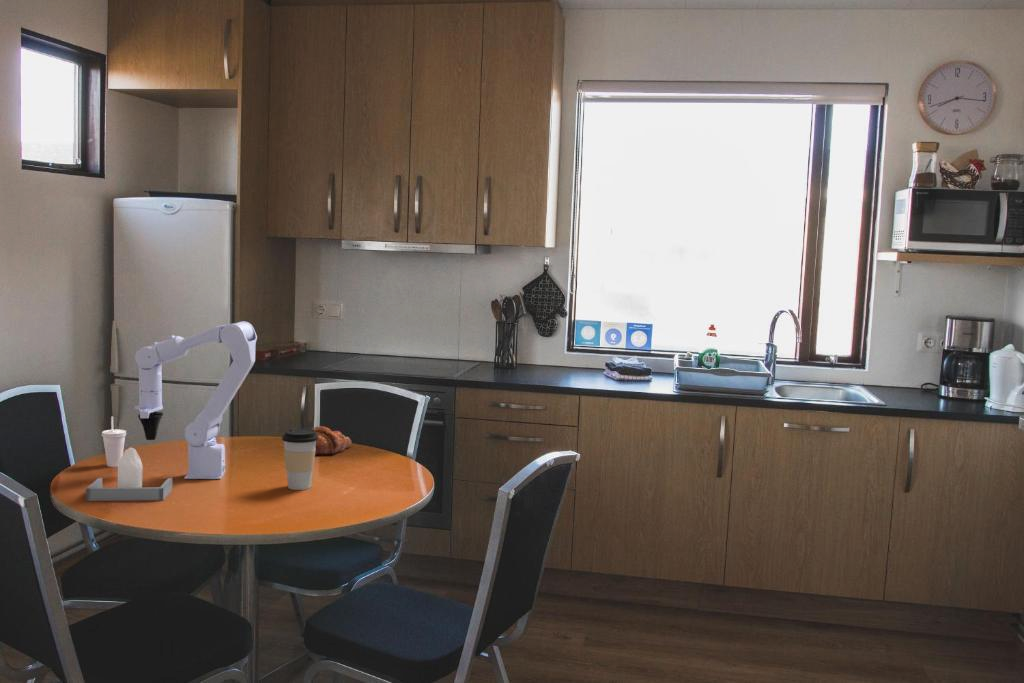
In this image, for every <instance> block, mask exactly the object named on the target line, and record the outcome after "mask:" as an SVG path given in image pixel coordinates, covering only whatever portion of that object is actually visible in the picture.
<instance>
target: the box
mask: <svg viewBox="0 0 1024 683" xmlns="http://www.w3.org/2000/svg"><path fill="white" fill-rule="evenodd" d="M172 491H173V478H172V477H168V478H167V479H166V480H164V482H163V483H162V484H161V486H159V487H157V486H156V487H153V486H152V487H151V486H149V487H143V486H142V487H130V488H118V487H103V477H100V478H99V477H98V478H97V479H95V480H94V481H93V482H92V483H91V484H89V486H87V487H86V488H85V501H86V502H88V501H89V502H95V501H96V502H97V501H98V502H101V501H102V502H104V501H105V502H106V501H107V502H108V501H111V502H113V501H114V502H115V501H116V502H117V501H118V502H119V501H121V502H122V501H127V502H129V501H164V500H165V499H166V498H167V497H168V495H169V494H170V493H171V492H172Z"/></svg>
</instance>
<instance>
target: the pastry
mask: <svg viewBox="0 0 1024 683" xmlns="http://www.w3.org/2000/svg"><path fill="white" fill-rule="evenodd" d="M312 430H315V431H316V434H317V435H318V438H319V439H318V440H317V441H316V445H315V448H316V450H315V456H330V455H336V454H339V453H342V452H343V451H345V450H348V449H349V448H350V447H351V446H352V440H351V438H350V437H349V436H346V435H344V434H343V433H342V432H341V431H339V430H331V429H330V428H329V427H326V426H322V425H319V426H315V427H313V428H312Z"/></svg>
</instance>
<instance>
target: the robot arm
mask: <svg viewBox="0 0 1024 683" xmlns="http://www.w3.org/2000/svg"><path fill="white" fill-rule="evenodd" d="M167 338H168V339H166V340H163V341H159V342H158V341H155V342H152V345H149V346H143V347H142V348H140V349H138V350H137V351H136V353H135V355H134V359H135V360H134V361H135V363H136V365H137V366H138V390H139V395H138V398H139V401H138V402H139V404H138V405H135V406H134V410H138V411H139V414H138V416H137V418H138V420H139V421H140V423H141V425H142V428H143V433H144V436H145V439H146V440H147V441H155V440H156V439H157V438H156V437H157V435H158V430H159V425H160V422H161V419H162V417H163V415H164V412H161V411H162V410H163V409H164V405H163V384H162V383H163V376H162V373H163V372H162V368H163V364H166V363H169V362H172V361H174V360H177V359H180V358H183V357H186V356H187V355H188V353H189V351H190V349H193V348H196V347H197V348H198V347H200V346H202V345H205V344H209V343H212V342H214V343H217V344H222V345H224V346H225V348H226V349H227V351H228V352H229V353H230V356H231V359H232V363H231V364H230V366H229V367H228V369H227V371H226V372H225V373H224V376H223V377H222V379H221V381H220V382H219V384H218V385H217V387H216V389H215V390H214V392H213V394H212V395H211V397H210V399H209V400H208V402H207V403H206V405H205V406H204V408H203V410H202V411H200V413H199V414H198V415H197V416H196V417H195V419H193V420H194V421H192V422H191V423H188V425H186V427H184V428H185V429H184V432H183V436H184V439H185V441H187V451H188V453H187V454H188V455H187V456H188V458H187V459H188V463H187V464H188V465H187V466H188V467H187V468H188V470H187V472H188V473H186V475H185V476H184V479H185V480H198V479H199V480H221V479H222V477H223V476H224V475H225V473H226V447H225V444H224V443H217V439H216V437H217V436H218V435H219V433H220V429H221V428H220V427H221V424H222V422H223V416H224V413H225V412H226V411H227V409H228V408H229V405H230V404H231V402H232V401H233V400H234V398H235V396H236V394H237V393H238V391H239V389H240V388H241V386H242V385H243V382H245V379H247V378H246V377H247V376H248V374H249V373H250V371H251V369H252V368H253V366H254V364H255V362H256V346H257V345H256V343H257V340H258V336H257V333H256V331H255V328H254V326H253V325H252V324H251V323H250V322H248V321H245V320H242V321H239V322H235V323H228V324H223V325H217V326H213V327H210V328H208V329H205V330H202V331H201V332H198V333H195V334H193V335H191V336H187V337H182V336H180V335H169V336H168V337H167Z"/></svg>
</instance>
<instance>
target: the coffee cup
mask: <svg viewBox="0 0 1024 683" xmlns="http://www.w3.org/2000/svg"><path fill="white" fill-rule="evenodd" d="M312 429H313V428H312ZM312 429H311V428H302V427H301V428H300V427H299V428H289V429H287V430H285V431H284V434H283V435H282V437H281V441H283V445H284V447H283V448H284V449H283V452H284V453H283V454H284V464H285V471H286V476H287V477H286V478H287V488H288V489H289V490H293V491H304V490H309V489H310V488H311V487H312V479H313V471H314V467H315V466H314V465H315V457H316V455H315V450H316V448H315V445H316V441H317V440H318V439H319V438H318V435H317V434H316V431H315V430H312Z"/></svg>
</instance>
